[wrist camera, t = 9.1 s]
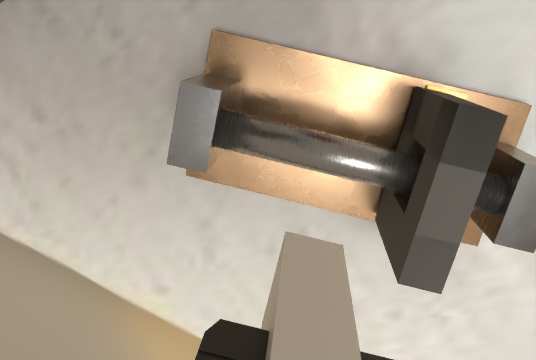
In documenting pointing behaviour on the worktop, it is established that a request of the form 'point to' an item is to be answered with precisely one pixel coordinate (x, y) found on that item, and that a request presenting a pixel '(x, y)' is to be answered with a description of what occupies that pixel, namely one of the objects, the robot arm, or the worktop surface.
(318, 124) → the pipe rig
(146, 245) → the worktop surface
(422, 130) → the collar
